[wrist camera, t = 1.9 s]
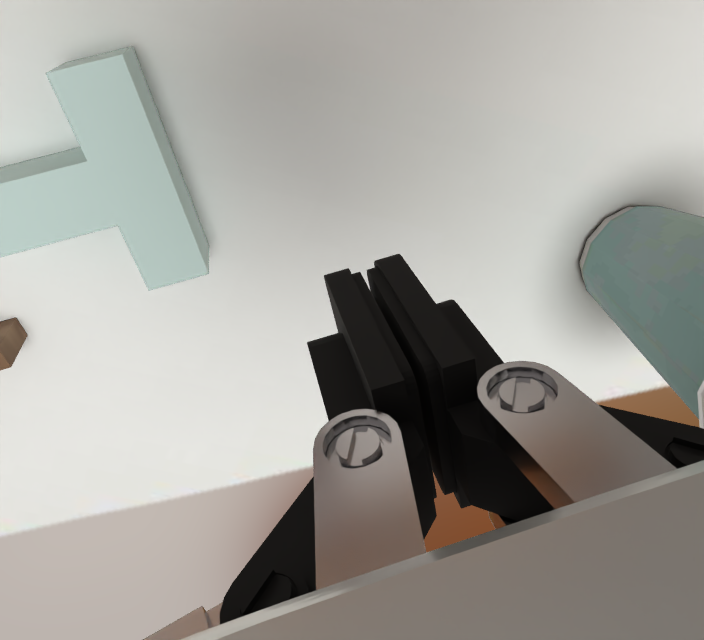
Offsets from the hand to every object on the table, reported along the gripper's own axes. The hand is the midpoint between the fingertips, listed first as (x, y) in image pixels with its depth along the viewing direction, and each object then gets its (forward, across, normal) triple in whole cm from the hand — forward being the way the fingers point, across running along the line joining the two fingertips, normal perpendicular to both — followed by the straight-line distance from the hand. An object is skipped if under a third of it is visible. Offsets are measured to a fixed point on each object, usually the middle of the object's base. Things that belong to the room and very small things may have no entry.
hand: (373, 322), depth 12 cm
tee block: (+19, +10, 0) cm, 21 cm away
